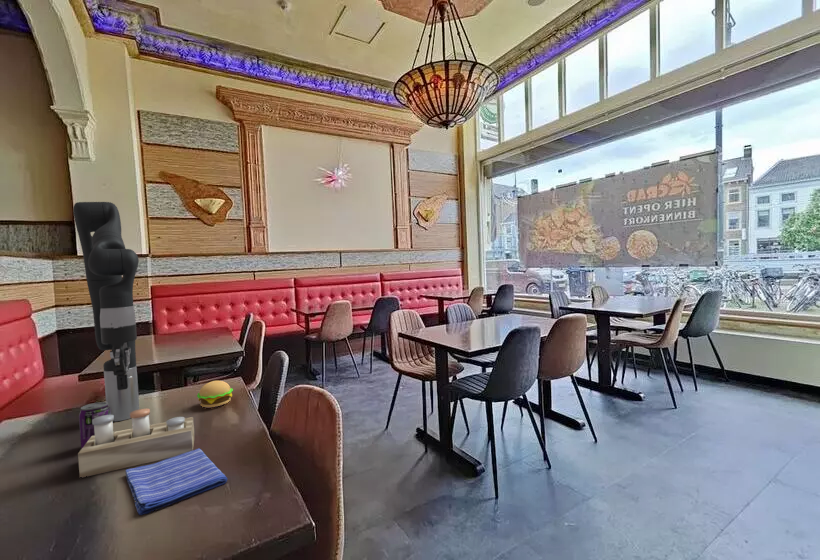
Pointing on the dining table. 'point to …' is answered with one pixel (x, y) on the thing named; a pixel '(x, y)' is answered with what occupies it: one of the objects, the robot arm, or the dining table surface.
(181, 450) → the beech block
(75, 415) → the dining table surface
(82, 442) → the beverage can
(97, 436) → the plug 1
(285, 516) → the dining table surface
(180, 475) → the dish towel
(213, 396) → the hamburger
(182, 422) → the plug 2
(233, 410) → the dining table surface
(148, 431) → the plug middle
